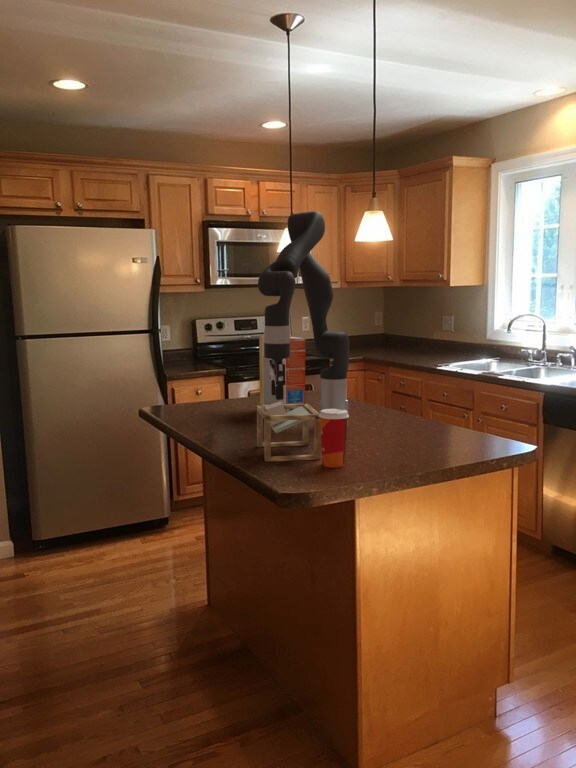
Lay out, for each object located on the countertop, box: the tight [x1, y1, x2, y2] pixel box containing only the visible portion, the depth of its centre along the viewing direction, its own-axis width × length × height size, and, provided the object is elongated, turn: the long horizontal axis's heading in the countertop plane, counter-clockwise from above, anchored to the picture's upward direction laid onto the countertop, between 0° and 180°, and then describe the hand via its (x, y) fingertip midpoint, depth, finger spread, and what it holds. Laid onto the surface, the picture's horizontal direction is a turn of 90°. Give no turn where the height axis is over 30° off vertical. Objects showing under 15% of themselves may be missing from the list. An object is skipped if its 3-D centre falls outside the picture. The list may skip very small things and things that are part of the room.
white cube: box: [264, 401, 287, 425], centre depth 189 cm, size 5×5×5 cm
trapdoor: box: [271, 406, 310, 434], centre depth 190 cm, size 12×15×1 cm
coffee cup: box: [319, 409, 350, 469], centre depth 176 cm, size 8×8×15 cm
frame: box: [256, 403, 322, 463], centre depth 190 cm, size 16×19×13 cm
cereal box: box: [258, 334, 306, 413], centre depth 250 cm, size 23×8×30 cm, turn 27°
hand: (277, 397), depth 188 cm, fingers open, 8 cm apart
